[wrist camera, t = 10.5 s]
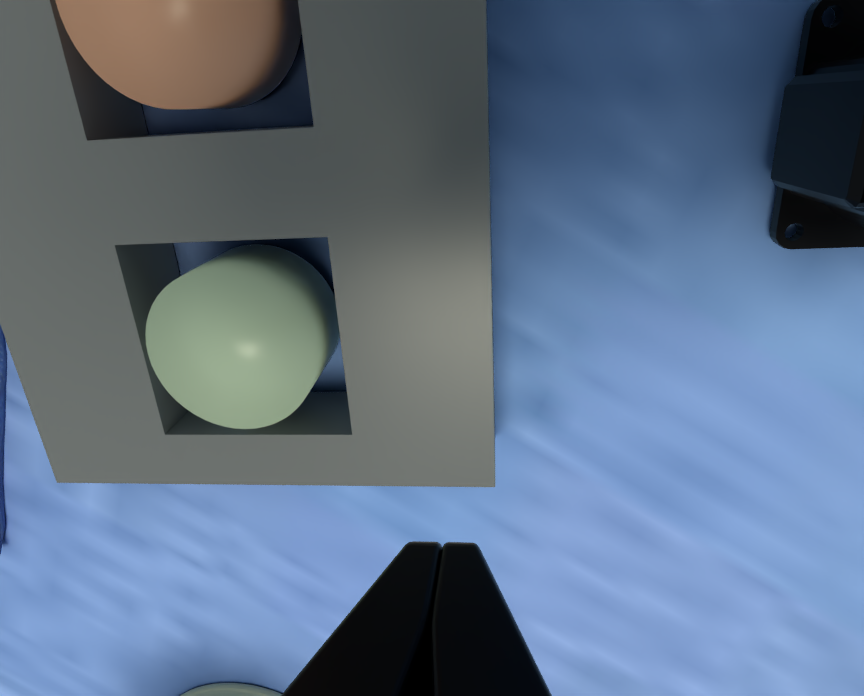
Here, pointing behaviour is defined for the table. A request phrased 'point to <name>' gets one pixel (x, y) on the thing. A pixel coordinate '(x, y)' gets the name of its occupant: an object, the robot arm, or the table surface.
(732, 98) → the table surface
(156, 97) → the terracotta button
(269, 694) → the sage green canister
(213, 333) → the sage button
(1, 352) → the dish towel
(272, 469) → the button panel
